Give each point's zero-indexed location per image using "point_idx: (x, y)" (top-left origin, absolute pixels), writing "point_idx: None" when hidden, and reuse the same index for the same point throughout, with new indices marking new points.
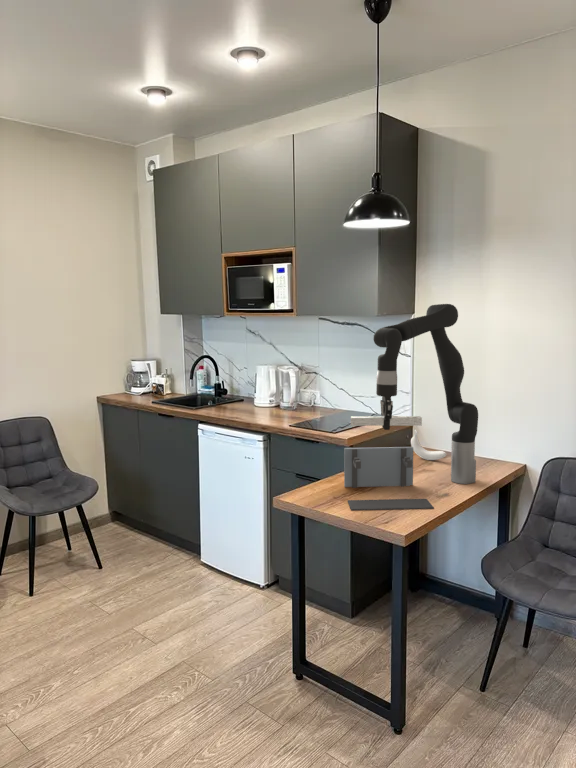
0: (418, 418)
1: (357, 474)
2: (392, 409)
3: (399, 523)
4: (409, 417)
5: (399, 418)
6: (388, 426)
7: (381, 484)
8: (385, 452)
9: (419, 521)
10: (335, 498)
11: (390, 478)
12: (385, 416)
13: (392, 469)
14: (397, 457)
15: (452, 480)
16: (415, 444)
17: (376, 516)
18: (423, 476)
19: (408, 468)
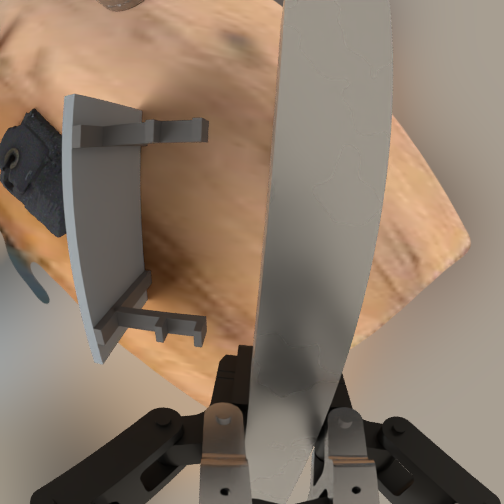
0: (386, 45)
1: (130, 283)
2: (482, 484)
3: (426, 232)
4: (385, 182)
5: (352, 327)
6: (341, 377)
7: (138, 203)
8: (85, 214)
9: (425, 184)
10: (236, 336)
11: (130, 179)
12: (397, 467)
13: (116, 175)
14: (94, 161)
15: (128, 7)
16: None
17: (378, 271)
18: (73, 74)
19: (116, 119)
